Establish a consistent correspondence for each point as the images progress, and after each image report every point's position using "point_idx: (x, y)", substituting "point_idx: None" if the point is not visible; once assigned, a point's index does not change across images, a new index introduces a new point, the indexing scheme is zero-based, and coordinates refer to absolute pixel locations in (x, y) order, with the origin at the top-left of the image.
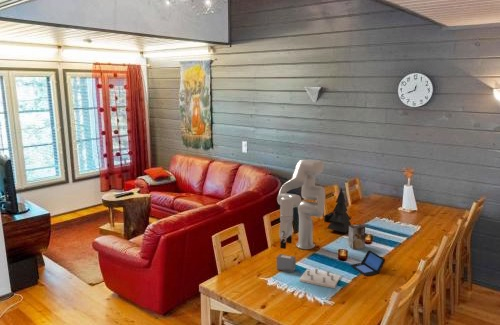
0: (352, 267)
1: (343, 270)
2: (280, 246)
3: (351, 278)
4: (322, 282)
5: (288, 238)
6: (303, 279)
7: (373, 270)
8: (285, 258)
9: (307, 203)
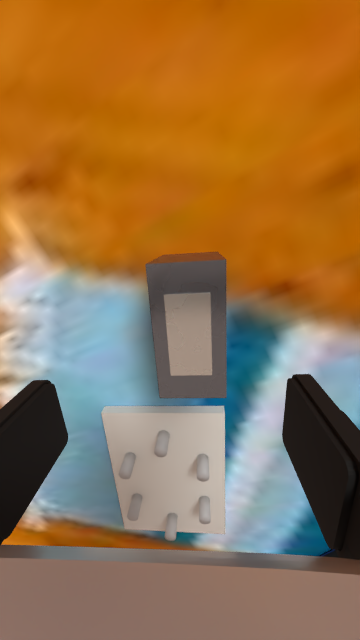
0: (335, 552)
1: (298, 525)
2: (21, 392)
3: (235, 551)
4: (129, 493)
5: (321, 474)
6: (108, 428)
7: None
8: (157, 342)
9: None
